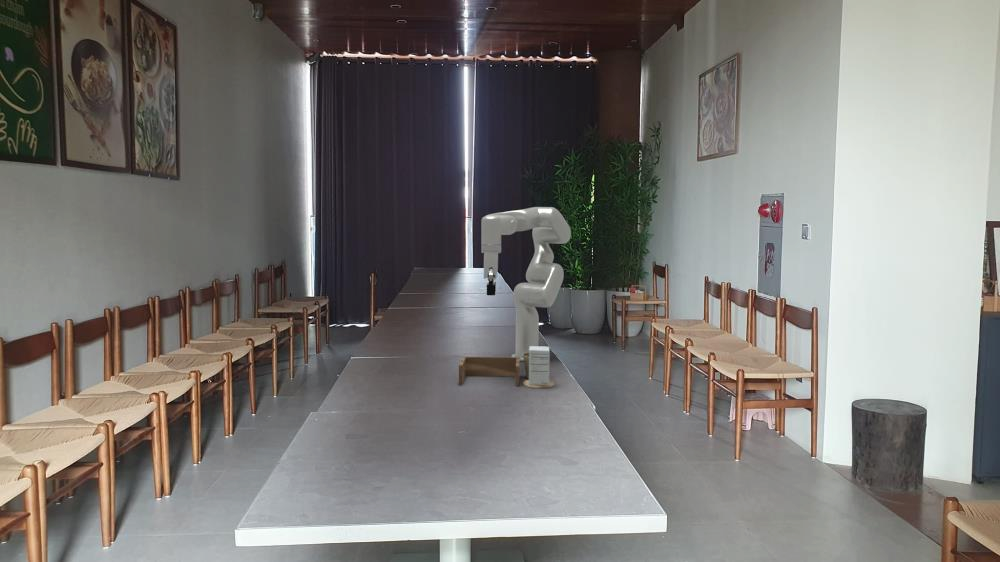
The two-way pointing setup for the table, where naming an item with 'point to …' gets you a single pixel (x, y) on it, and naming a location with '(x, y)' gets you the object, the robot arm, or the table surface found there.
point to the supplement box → (539, 365)
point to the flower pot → (526, 363)
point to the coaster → (538, 385)
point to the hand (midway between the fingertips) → (491, 293)
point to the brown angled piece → (489, 367)
